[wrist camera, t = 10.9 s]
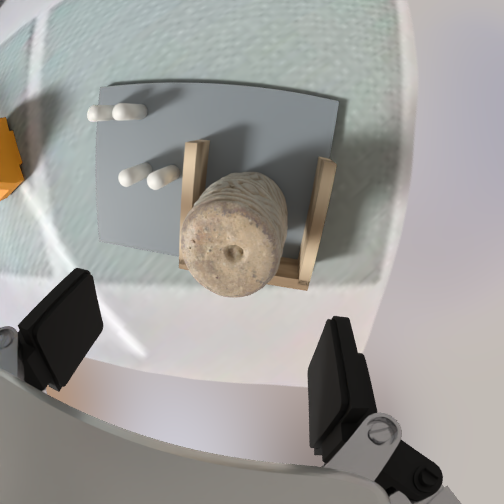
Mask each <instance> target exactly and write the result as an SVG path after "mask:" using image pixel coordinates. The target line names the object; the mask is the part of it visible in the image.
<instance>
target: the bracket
mask: <svg viewBox="0 0 504 504" xmlns="http://www.w3.org/2000/svg"><path fill="white" fill-rule="evenodd" d="M21 164H22V160H21V156H20V153H19V150H18V147H17V143H16V140H15V136H14V132H13V131H9V128H8V124H7V120H6V117H4V118H0V201H1V200H3V199H5V198H7V197H8V196H9V195H10V194H11V193H12V192H13V191H14V190H15V189H16V188H17V187H18V186H19V185H20V184H21V183H22V182H23V181H24V178H23V175H22V172H21V169H20V165H21Z"/></svg>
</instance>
